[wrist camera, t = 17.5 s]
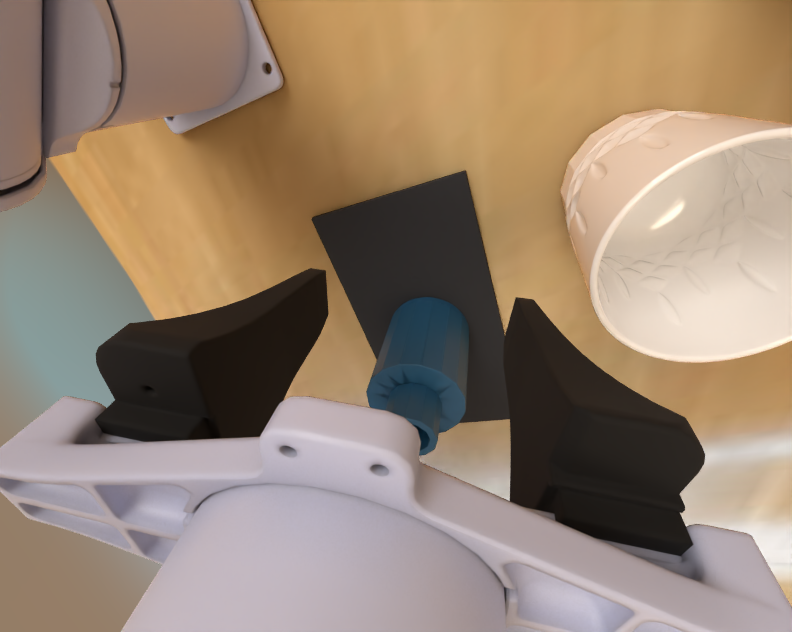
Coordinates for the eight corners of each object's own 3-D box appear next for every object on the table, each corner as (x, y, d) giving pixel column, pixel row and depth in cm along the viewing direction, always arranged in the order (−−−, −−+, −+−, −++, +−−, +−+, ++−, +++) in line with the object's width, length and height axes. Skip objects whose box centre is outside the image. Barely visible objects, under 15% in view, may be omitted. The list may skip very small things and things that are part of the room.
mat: (313, 216, 24) (311, 219, 24) (465, 170, 21) (465, 172, 21) (408, 423, 34) (408, 427, 34) (523, 414, 31) (523, 418, 30)
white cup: (547, 256, 23) (582, 365, 15) (551, 112, 19) (602, 155, 11) (698, 242, 21) (835, 361, 13) (741, 77, 17) (984, 98, 9)
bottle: (375, 329, 28) (335, 432, 20) (425, 281, 25) (399, 381, 17) (432, 371, 29) (414, 483, 22) (486, 331, 26) (487, 444, 19)
